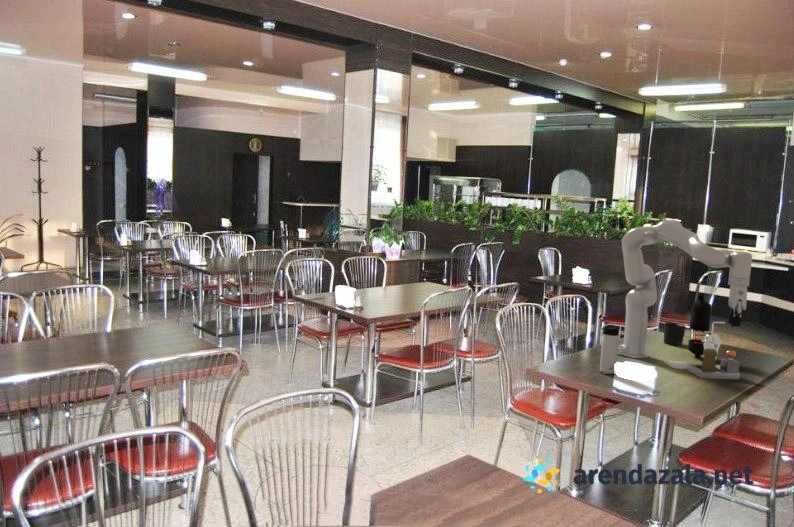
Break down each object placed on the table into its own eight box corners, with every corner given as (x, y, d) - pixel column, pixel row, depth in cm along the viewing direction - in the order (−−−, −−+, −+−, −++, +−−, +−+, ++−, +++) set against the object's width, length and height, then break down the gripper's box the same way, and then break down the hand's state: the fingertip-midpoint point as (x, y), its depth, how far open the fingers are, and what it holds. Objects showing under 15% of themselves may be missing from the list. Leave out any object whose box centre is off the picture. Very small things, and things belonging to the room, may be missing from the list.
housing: (701, 378, 250) (703, 361, 249) (686, 369, 262) (688, 354, 261) (739, 379, 251) (741, 362, 250) (722, 370, 263) (724, 355, 262)
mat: (674, 368, 263) (674, 367, 263) (663, 362, 273) (663, 360, 273) (696, 369, 263) (696, 368, 263) (685, 362, 273) (685, 361, 273)
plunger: (728, 366, 252) (729, 352, 251) (723, 363, 255) (724, 350, 255) (736, 366, 252) (738, 352, 251) (731, 363, 255) (732, 350, 255)
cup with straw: (711, 360, 280) (715, 317, 277) (724, 365, 271) (729, 322, 269) (694, 360, 278) (699, 317, 276) (708, 365, 270) (712, 322, 267)
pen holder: (665, 345, 305) (667, 326, 303) (660, 341, 314) (662, 322, 313) (685, 347, 303) (687, 327, 302) (679, 342, 312) (681, 323, 311)
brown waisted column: (709, 377, 252) (712, 351, 251) (696, 373, 258) (699, 347, 256) (719, 375, 255) (721, 350, 254) (706, 371, 260) (708, 346, 259)
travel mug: (614, 376, 248) (618, 328, 246) (597, 373, 252) (601, 326, 249) (617, 372, 253) (621, 326, 251) (601, 369, 257) (605, 323, 254)
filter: (705, 361, 276) (712, 297, 273) (684, 357, 282) (690, 294, 278) (711, 355, 287) (717, 293, 284) (690, 352, 293) (696, 291, 289)
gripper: (754, 285, 240) (749, 330, 242) (744, 279, 256) (739, 321, 258) (733, 283, 242) (728, 328, 245) (724, 278, 258) (720, 320, 261)
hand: (734, 324), depth 252 cm, fingers open, 4 cm apart
